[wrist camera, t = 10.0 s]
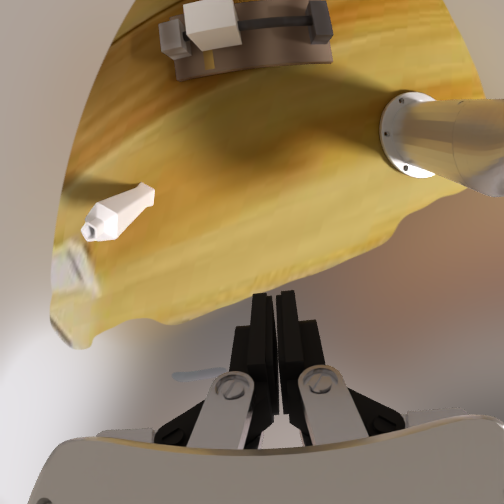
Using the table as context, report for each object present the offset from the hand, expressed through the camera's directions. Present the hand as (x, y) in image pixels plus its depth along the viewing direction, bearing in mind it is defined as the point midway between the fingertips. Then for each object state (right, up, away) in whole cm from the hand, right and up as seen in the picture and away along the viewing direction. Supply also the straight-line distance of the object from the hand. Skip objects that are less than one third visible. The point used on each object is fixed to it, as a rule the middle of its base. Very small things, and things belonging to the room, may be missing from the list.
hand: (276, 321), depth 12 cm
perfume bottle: (-17, +11, +28) cm, 34 cm away
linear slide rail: (-1, +31, +18) cm, 36 cm away
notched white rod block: (-5, +30, +16) cm, 34 cm away
